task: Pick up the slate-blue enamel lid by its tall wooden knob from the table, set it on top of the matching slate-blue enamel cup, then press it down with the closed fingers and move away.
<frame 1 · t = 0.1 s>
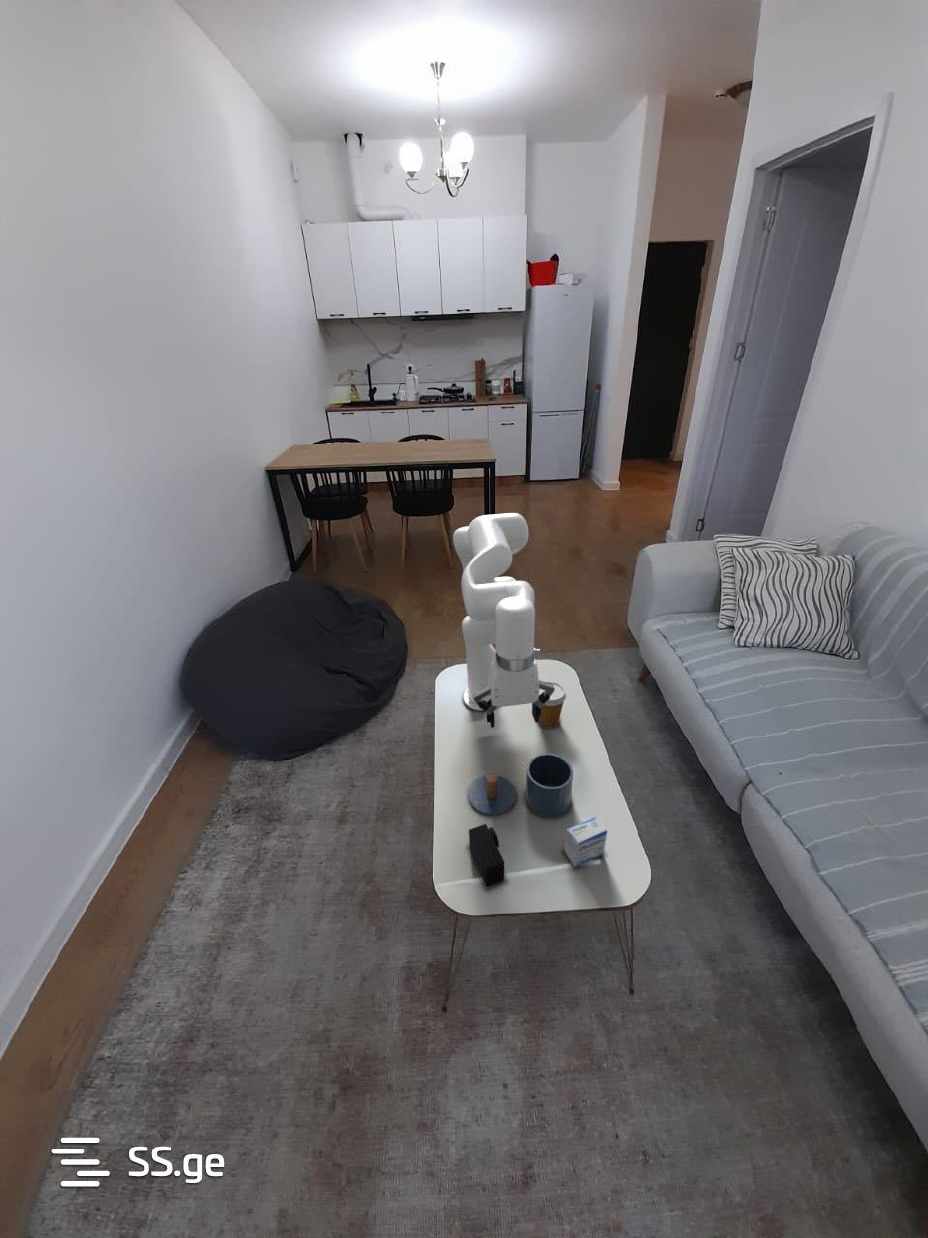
hand: (513, 721, 108), 31 cm above the table, tool pointing down, fingers open, 9 cm apart
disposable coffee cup: (548, 721, 152), on the table
lid: (492, 795, 128), point 1 cm above the table
cup: (547, 799, 127), on the table
digital camera: (489, 864, 113), on the table
medicine box: (583, 854, 114), on the table
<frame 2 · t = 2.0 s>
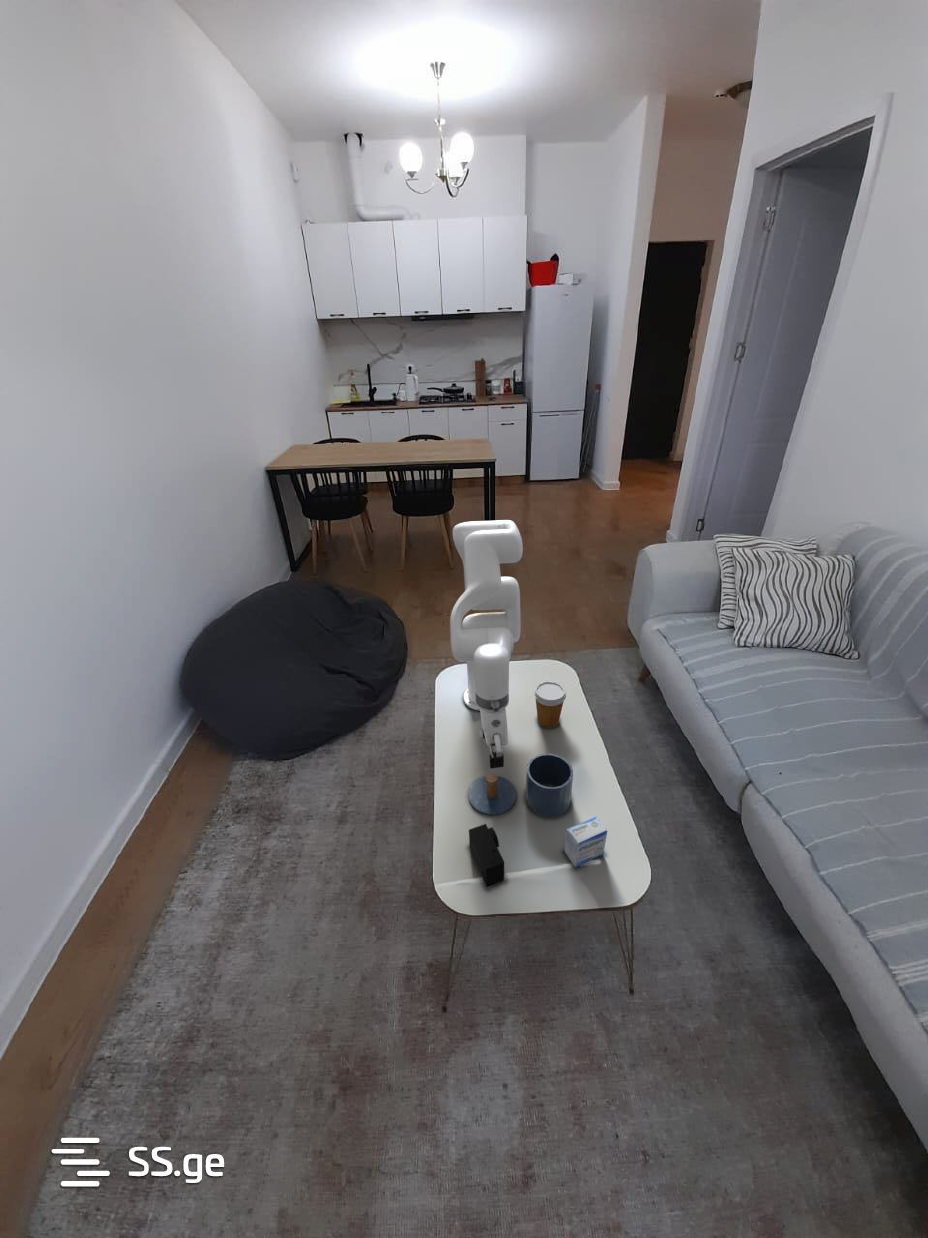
hand: (492, 751, 119), 17 cm above the table, tool pointing down, fingers open, 9 cm apart
nothing on the table moved.
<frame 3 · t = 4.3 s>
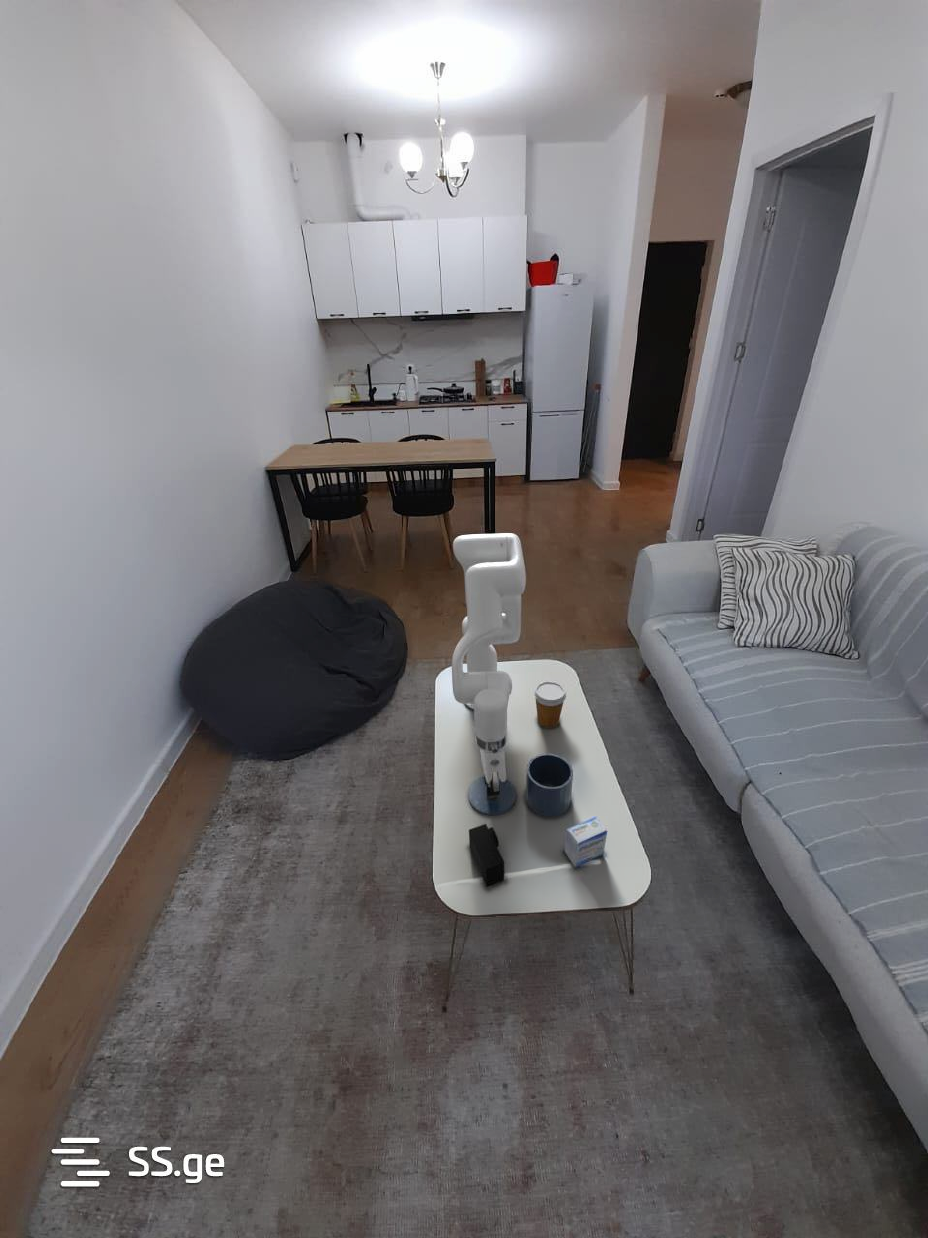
hand: (492, 788, 127), 3 cm above the table, tool pointing down, fingers closed on lid, 2 cm apart
lid: (492, 795, 128), point 1 cm above the table, touching gripper
everything else where it was.
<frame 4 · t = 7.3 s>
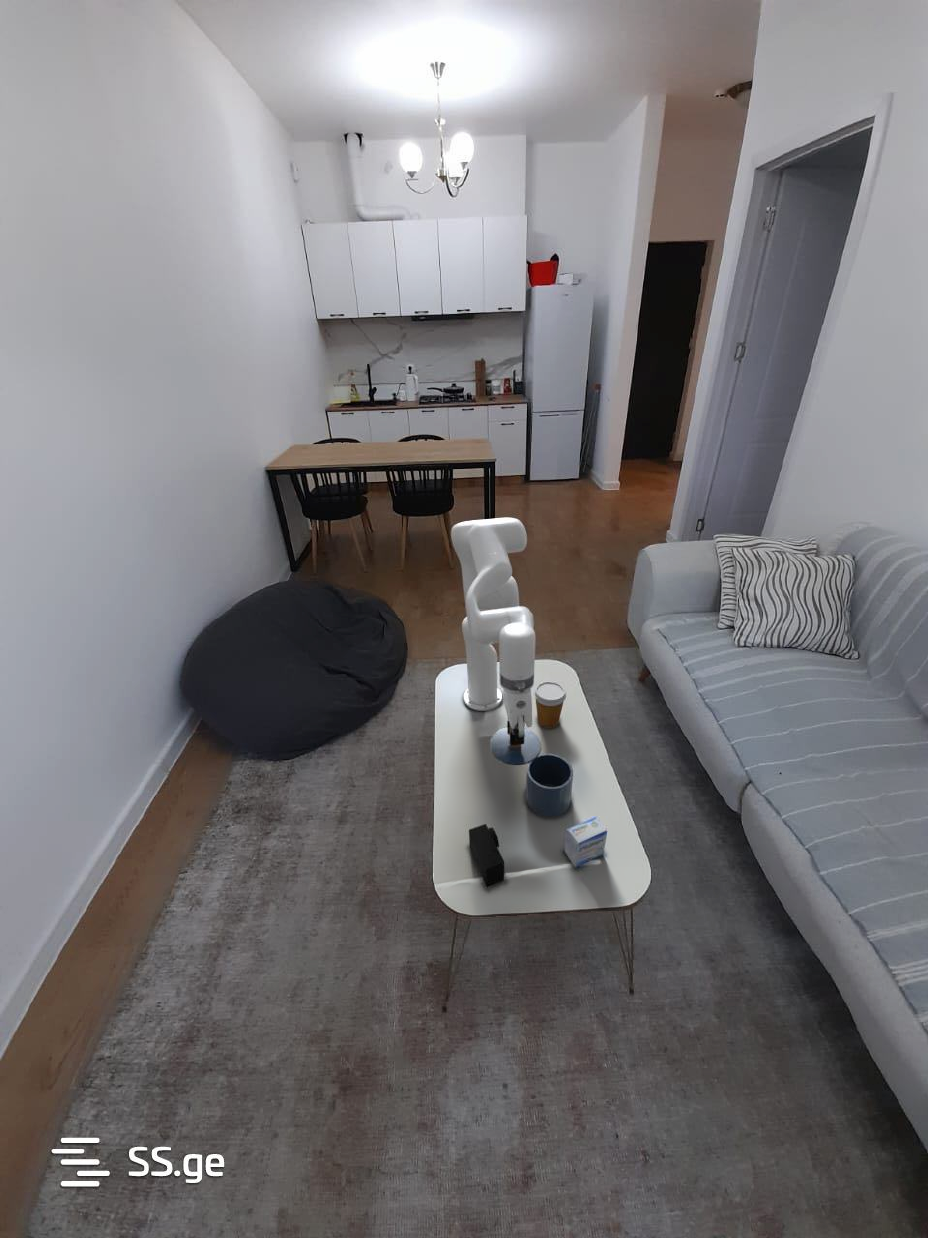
hand: (515, 737, 117), 21 cm above the table, tool pointing down, fingers closed on lid, 2 cm apart
lid: (515, 745, 119), point 19 cm above the table, touching gripper
everything else where it was.
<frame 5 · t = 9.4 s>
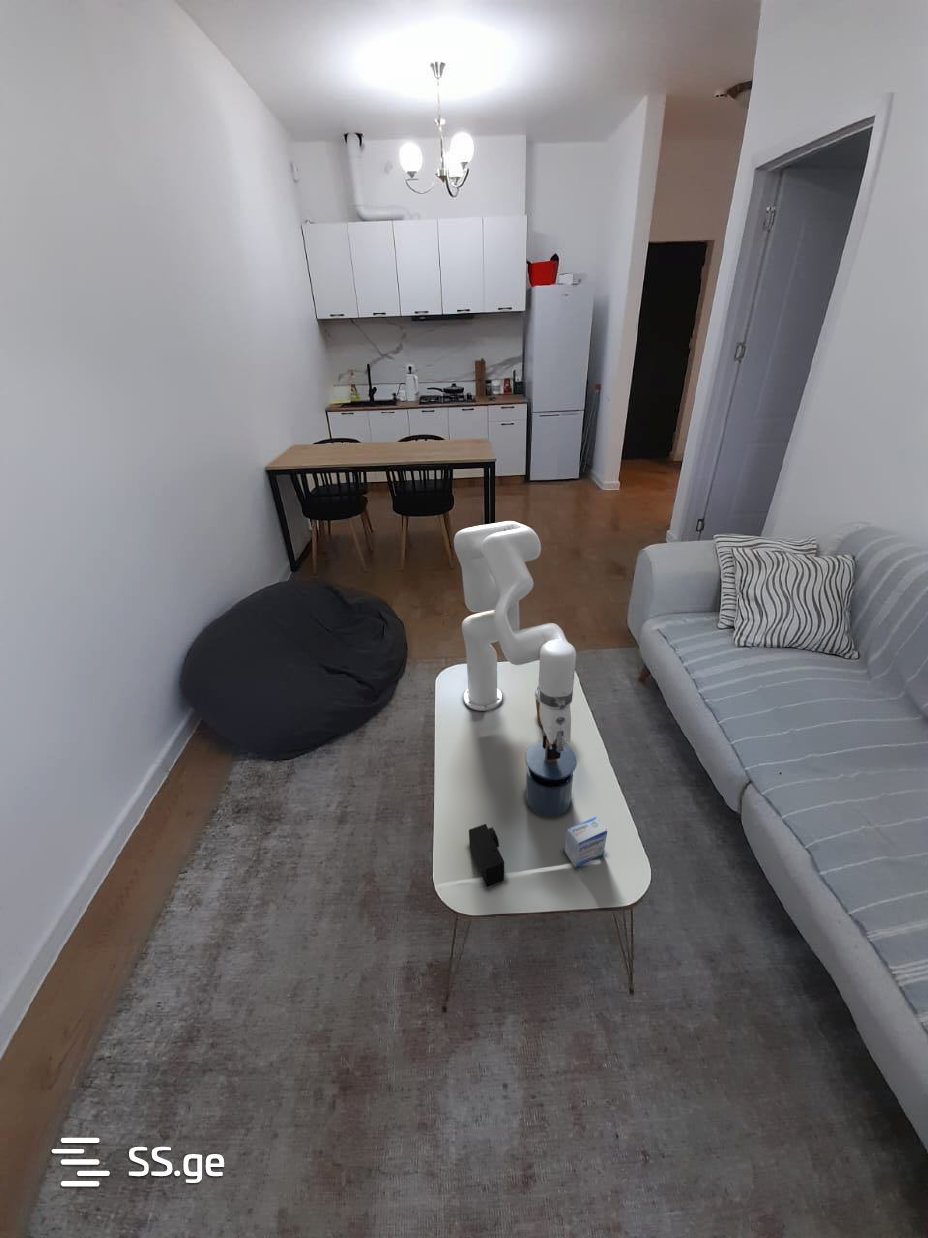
hand: (551, 752, 119), 17 cm above the table, tool pointing down, fingers closed on lid, 2 cm apart
lid: (550, 760, 120), point 14 cm above the table, touching gripper
everything else where it was.
when the fingers open (13 cm above the table, at t = 10.7 s): lid stays where it is, resting on cup.
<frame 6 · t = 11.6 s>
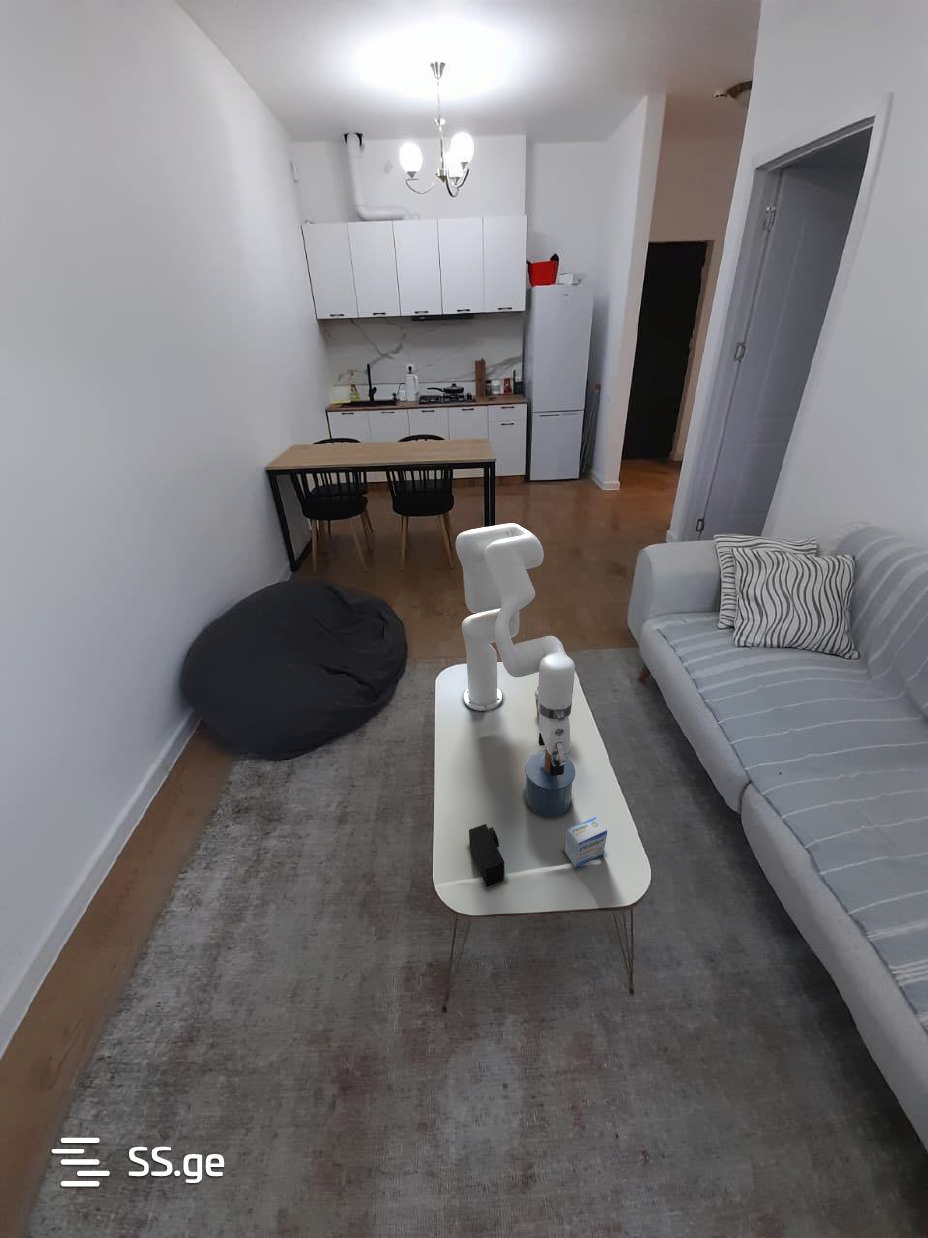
hand: (550, 758, 120), 15 cm above the table, tool pointing down, fingers open, 9 cm apart
lid: (549, 770, 122), point 10 cm above the table, touching cup
everything else where it was.
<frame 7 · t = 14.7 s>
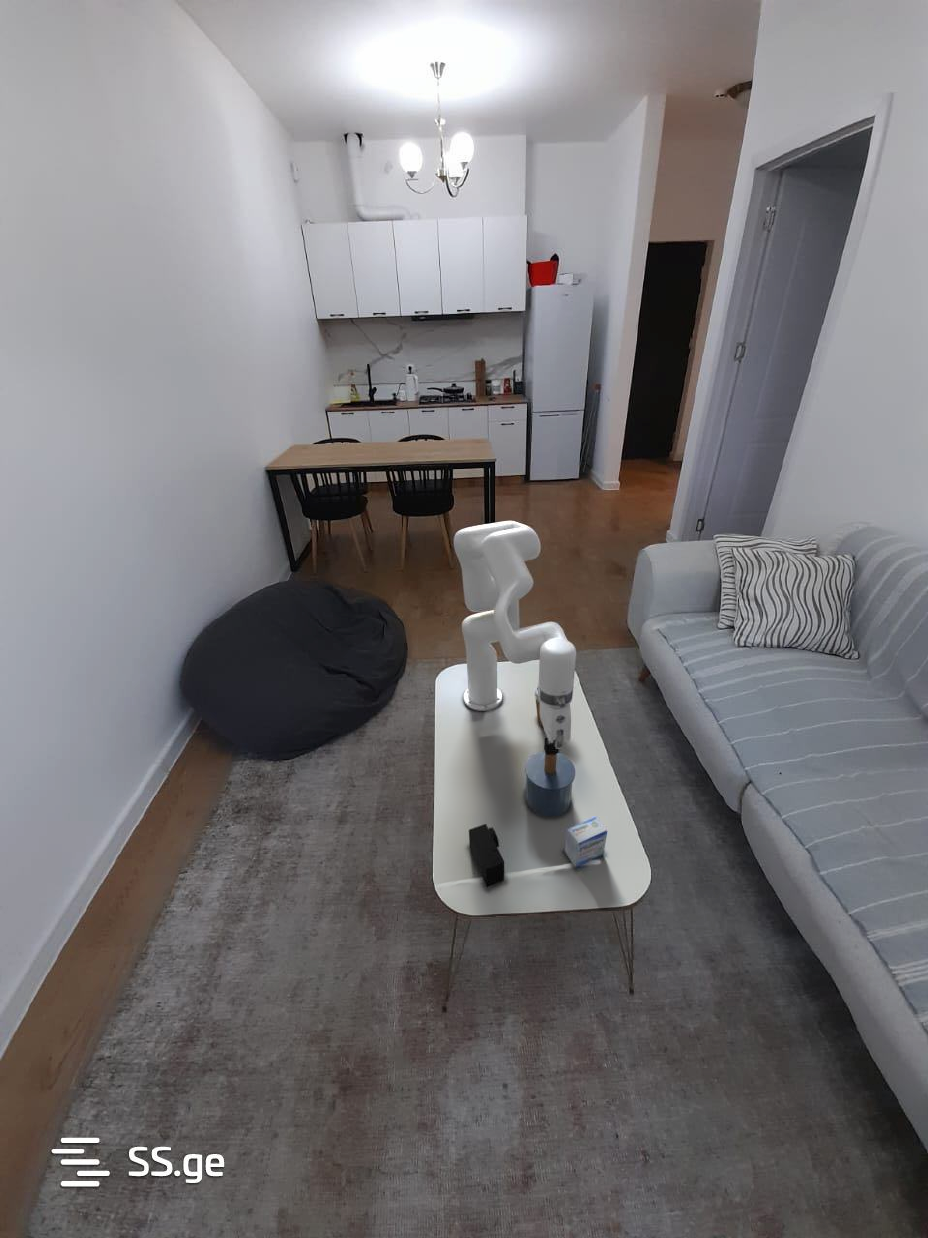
hand: (551, 751, 119), 17 cm above the table, tool pointing down, fingers closed
lid: (549, 770, 122), point 10 cm above the table, touching cup, gripper
everything else where it was.
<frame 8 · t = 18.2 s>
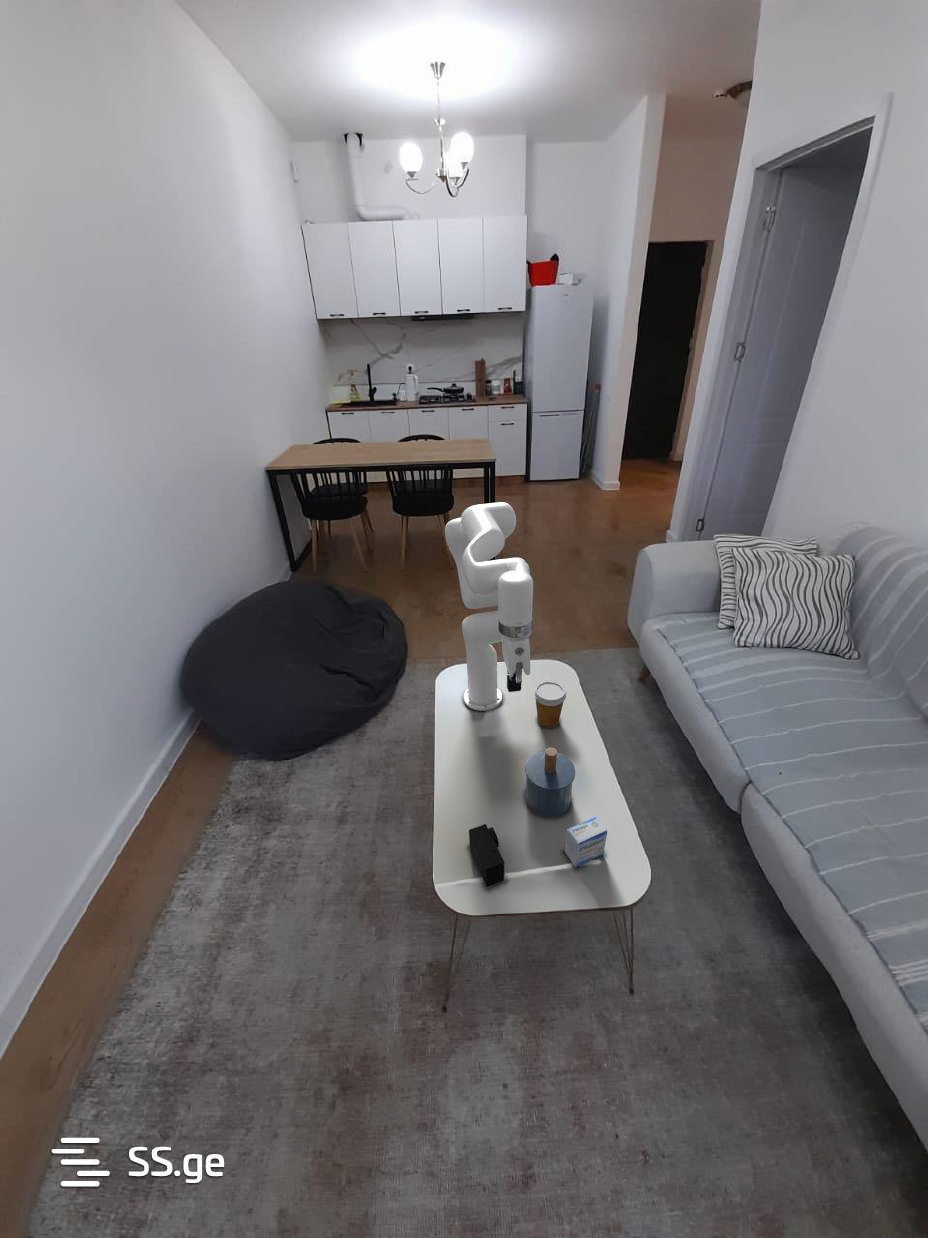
hand: (514, 689, 120), 29 cm above the table, tool pointing down, fingers closed
lid: (549, 770, 122), point 10 cm above the table, touching cup
everything else where it was.
at the end: lid 0.1 cm off-centre on the cup, point 10.5 cm above the cup's base; lid tilted 0°; the gripper is holding nothing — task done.
